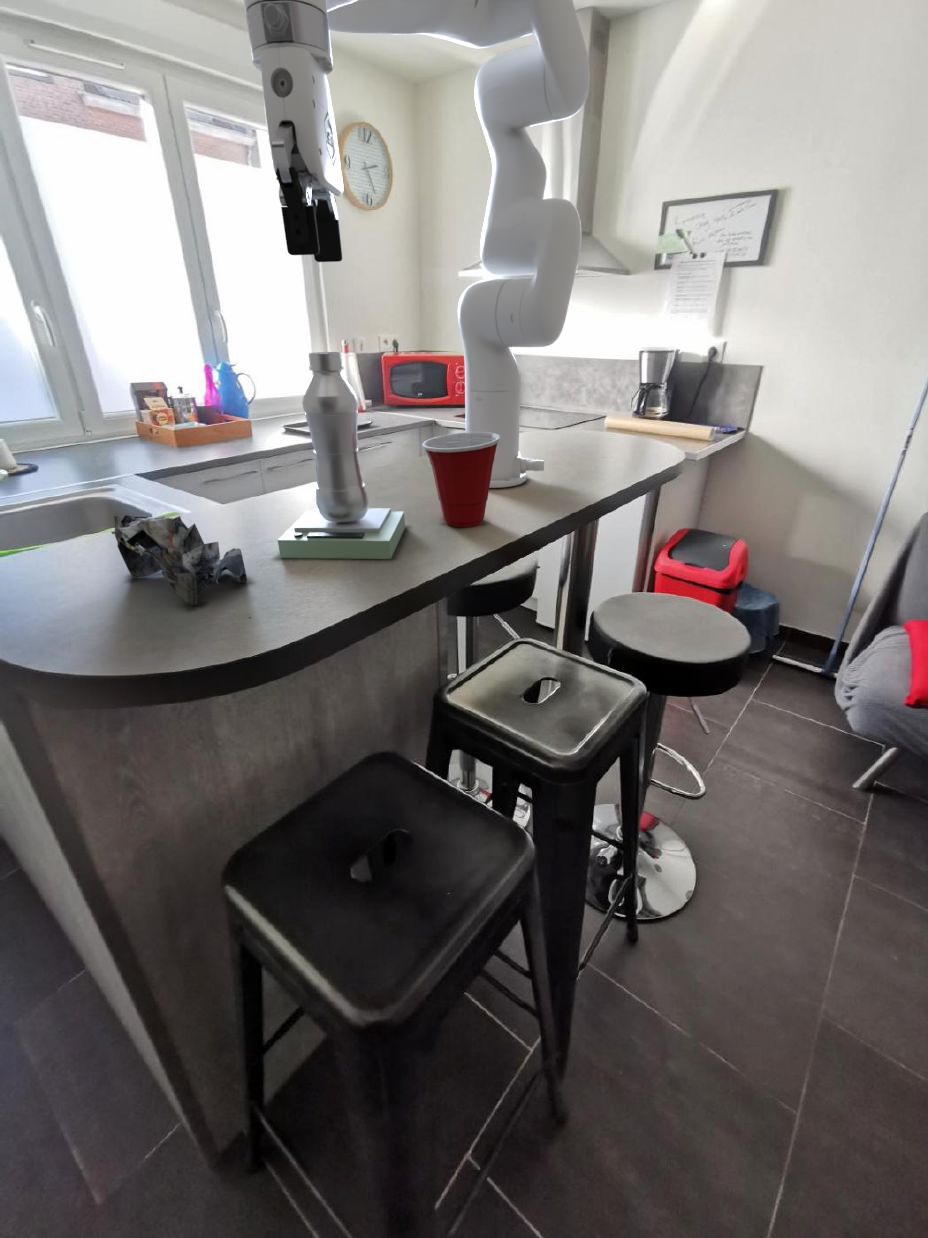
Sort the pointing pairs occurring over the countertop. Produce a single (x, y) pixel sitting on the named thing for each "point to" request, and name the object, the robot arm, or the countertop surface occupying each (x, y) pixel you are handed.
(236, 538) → the countertop surface
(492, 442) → the plastic cup
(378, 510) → the scale
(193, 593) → the crumpled newspaper
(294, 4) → the robot arm
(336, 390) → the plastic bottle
